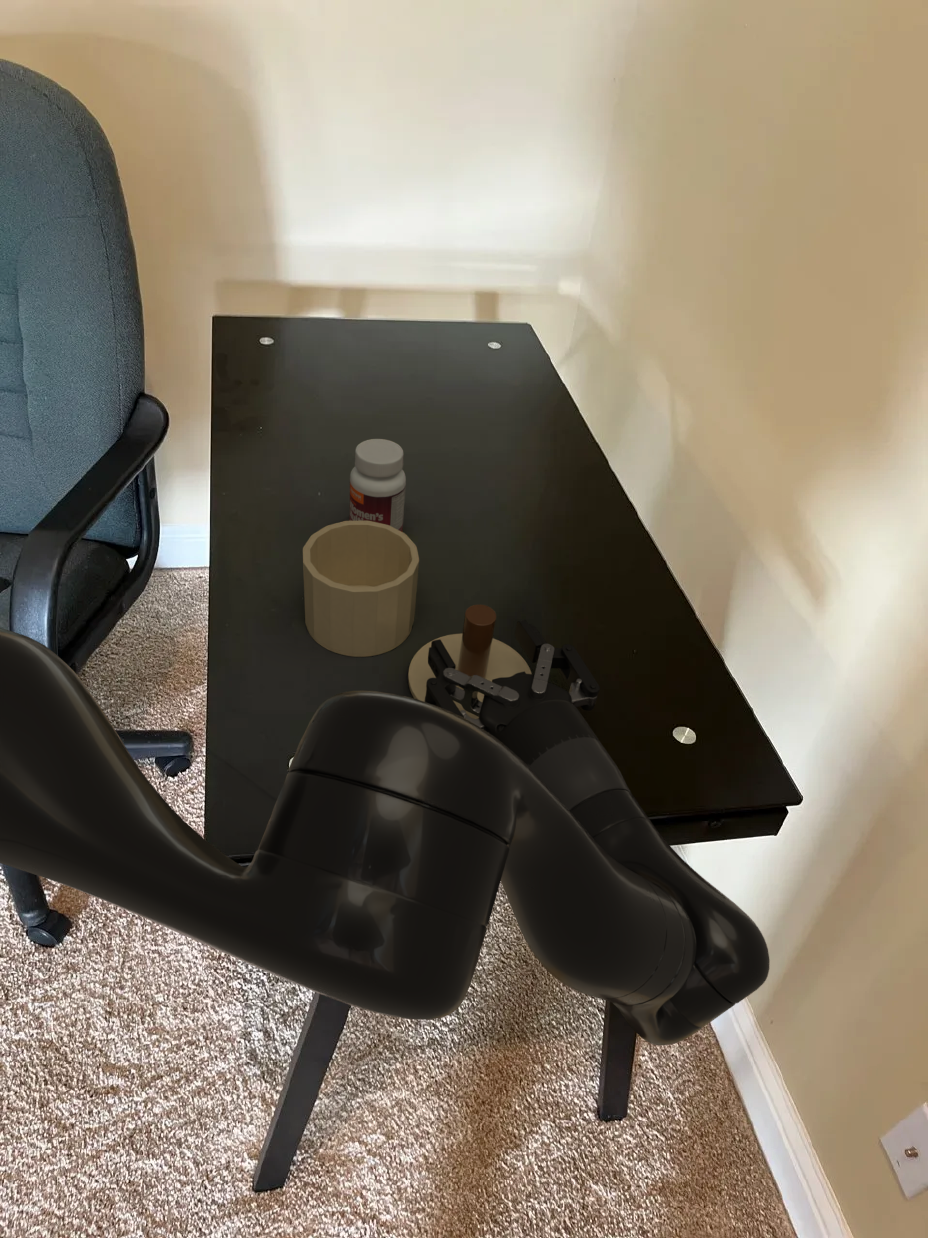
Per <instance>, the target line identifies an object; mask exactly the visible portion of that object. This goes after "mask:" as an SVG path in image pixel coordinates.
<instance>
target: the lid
mask: <svg viewBox="0 0 928 1238" xmlns="http://www.w3.org/2000/svg"><path fill="white" fill-rule="evenodd" d="M496 621H497V613H496V611H495V610H494V609H493V608H492V607H490V606H488V605H487V604H472V605H470V606H469V607H467V608H466V610H465V612H464V619H463V625H462V633H452V634H446V635H443V636H440V637H438V638H434V639H433V640H431V641H428V642H427V643H425V644H424V645H423V646H421V647H420V648H419V649H418V650H417V652H416V653H415V654H414V655H413V656H412V657H413V658H412V659H411V661H410V664H409V667H408V674H407V683H408V687H409V691H410V693H411V696H412V698H414V699H418V700H421V701H423V702H425V696H426V683H427V680H428V679H429V678H436V677H435V675H434V673H433V672H432V670H431V667H430V666H429V664H428V652H429V648H430V647H431V643H432V641H434V640H439V639H440V640H441V641H442V643H443V645H444V646H445V648H446V650H447V651H448V653H449V655H450V656H451V658H452V660H453V662H454V663H455V665H456V668H455V669H456V670H458V671H460V672H462V673H464V674H466V675H469V676H473V675H478V676H480V677H482V678H484V679H487V680H489V681H491V682H492V680H493V679H497V678H501V677H511V676H513V675H514V674H516V673H520V672H524V671H525V673H526V674H532V671H531V668H530V667H529V665H528V663H527V662H526V660H525V659H524V658H523V657H522V655H521V654H520V653H519V652H517V650H515V649H514V648H512V647H511V646H510V645H508V644H507V643H505V642H503V641H500V640H498V639H496V638H494V633H495V627H496ZM532 675H533V674H532ZM456 687H459V686H456ZM459 688H461V687H459ZM461 689H463V688H461ZM463 690H464V689H463ZM477 698H478V700H479V701H480V702H483V698H484V694H482V693H479V692H478V695H477ZM454 703H455V704H456V706H457V707H458V709H459V710H460V711H461V710H464V709H463V707H462V705H461V704H459V703H457V702H455V701H454ZM465 711H466V710H465ZM466 714H467V715H468V716H469V717H471V718H473V719H478V718H479V717H478V716H476V715H474V714H472V713H469V712H467V711H466Z"/></svg>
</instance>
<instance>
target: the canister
mask: <svg viewBox="0 0 928 1238" xmlns="http://www.w3.org/2000/svg"><path fill="white" fill-rule="evenodd" d="M302 568H303V571H302V572H303V592H304V593H303V594H304V595H303V597H304V598H303V599H304V618H305V619H304V621H305V626H306V630H307V632H308V633H309V636H310V637H311V638H312V639H313V641H314V642H315V643H317V644H318V645H319V646H321V647H322V648H324V649H326V650H328V651H329V652H332V653H335V654H338V655H341V656H345V657H354V658H365V657H366V658H367V657H372V656H379V655H382V654H385V653H388V652H391V651H393V650H394V649H396V648H398V647H399V646H400V645H401V644H403V643H404V642H405V641H406V640H407V639H408V637H409V636H410V634H411V632H412V630H413V626H414V622H415V619H416V617H415V616H416V604H417V593H418V581H419V568H420V556H419V551H418V547H417V545H416V544H415V542H414V541H412V540H411V538H410V536H408V534H406V533H405V532H403V531H402V532H401V531H399V530H397V529H395V528H393V527H392V526H390V525H386V524H382V523H377V522H373V521H368V520H364V521H349V520H344V521H340V522H336V523H331V524H329V525H326V526H324V527H322V528H320V529H319V530H317V531H316V532H314V533H312V534H311V535H310V537H309V538H308V539H307V541H306V542H305V544H304V546H303V547H302Z"/></svg>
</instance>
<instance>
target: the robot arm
mask: <svg viewBox="0 0 928 1238" xmlns="http://www.w3.org/2000/svg"><path fill="white" fill-rule="evenodd" d="M514 637H515V640H516V642H517V643H518V644H519V646H520V648H521V649H522V651H523V652H524V654H525V655H526V656H527V658H528V659H529V661H530V662H531V663H532V664H535V663H536V666H535V670H534V674H526V673H525V671H524V672H520V673H516V674H514V675H513V676H511V677H501V678H497V679H493V680H492V682H491V681H489V680H487V679H484V678H482V677H480V676H478V675H473V676H469V675H466V674H464V673H462V672H460V671H458V670H456V669H455V668H456V665H455V663H454V662H453V660H452V658H451V656H450V655H449V653H448V651H447V650H446V648H445V646H444V645H443V643H442V641H441V640H440V639H439V640H435V639H433V640H434V641H432V640H431V641H432V643H431V647H430V648H429V652H428V664H429V666H430V667H431V670H432V672H433V673H434V675H435V677H436V678H429V679H428V680H427V683H426V696H425V702H423V701H421V700H418V699H414V697H410V696H405V695H403V694H402V695H401V694H397V693H389V692H383V691H376V690H350V691H344V692H343V691H342V692H340V693H339V692H338V693H336V694H334V695H333V696H330V697H329V698H327V699H326V700H324V701H323V702H322V703H321V704H320V705H319V706H318V707H317V709H316V710H315V711H314V712H313V715H312V717H311V719H310V721H309V722H308V725H307V726H306V728H305V731H304V733H303V735H302V737H301V739H300V741H299V743H298V746H297V748H296V750H295V753H294V755H293V757H292V760H291V762H290V765H289V767H288V769H287V770H288V773H287V774H286V776H285V778H284V781H283V783H282V786H281V788H280V791H279V793H278V796H277V799H276V802H275V804H274V806H273V809H272V812H271V815H270V817H269V820H268V821H267V824H266V827H265V829H264V832H263V835H262V837H261V840H260V842H259V845H258V847H257V850H255V853H254V855H253V858H252V860H251V862H250V864H249V865H247V866H245V867H244V866H242V865H241V864H239V863H238V862H236V860H233V859H232V858H230V857H229V856H227V855H226V854H225V853H223V852H222V851H221V850H220V849H218V848H217V847H215V846H214V845H213V844H211V842H208V841H207V840H206V839H205V838H204V837H203V836H202V835H200V834H199V833H198V832H197V831H196V830H195V829H194V828H193V827H192V826H191V825H189V824H188V823H187V822H186V821H185V820H184V819H183V818H182V817H181V816H180V815H179V814H178V813H177V811H175V810H174V809H173V808H172V807H171V806H170V804H169V803H168V802H167V800H165V799H164V797H163V796H162V795H161V794H160V793H159V791H158V790H157V789H156V788H155V787H154V786H153V784H152V783H151V782H150V781H149V780H148V779H147V777H146V776H145V774H144V773H143V771H142V770H141V769H140V767H139V766H138V764H137V763H136V761H135V760H134V758H133V756H132V755H131V753H130V751H129V750H128V748H127V746H126V745H125V744H124V742H123V741H122V739H121V737H120V736H119V734H118V733H117V732H118V731H116V729H115V728H114V726H113V725H112V724H113V723H111V721H110V720H109V718H108V717H107V715H106V713H105V712H104V711H103V709H102V708H101V706H100V704H99V702H98V701H97V700H96V698H95V697H94V696H93V695H92V693H91V692H90V690H89V689H88V687H87V686H86V685H85V683H84V682H83V680H82V679H81V678H80V677H79V676H78V674H77V673H76V671H74V669H72V668H71V667H70V665H68V663H66V662H65V660H63V659H62V658H61V657H60V656H59V655H58V654H56V653H55V651H53V650H52V649H50V648H49V647H48V646H46V645H45V644H43V643H42V642H39V641H38V640H36V639H34V638H31V637H30V636H27V635H24V634H21V633H19V632H15V631H12V630H9V629H6V628H2V627H0V864H2V865H5V866H8V867H10V868H13V869H16V870H20V871H23V872H26V873H28V874H32V875H36V876H38V877H40V878H43V879H47V880H50V881H52V882H55V883H57V884H61V885H62V886H66V887H68V888H72V889H74V890H77V891H79V892H81V893H84V894H87V895H89V896H91V897H94V898H96V899H99V900H101V901H104V902H106V903H108V904H111V905H114V906H116V907H118V908H120V909H123V910H124V911H127V912H129V913H131V914H134V915H136V916H139V917H141V918H143V919H146V920H148V921H149V922H152V923H155V924H157V925H160V926H162V927H164V928H166V929H168V930H170V931H173V932H175V933H178V934H180V935H182V936H185V937H187V938H188V939H192V940H194V941H196V942H198V943H200V944H202V945H205V946H207V947H209V948H212V949H214V950H216V951H218V952H221V953H223V954H224V955H227V956H230V957H231V958H235V959H237V960H238V961H239V960H240V961H241V962H243V963H246V964H247V965H250V966H252V967H255V968H257V969H258V970H261V971H264V972H266V973H268V974H271V975H273V976H275V977H278V978H279V979H283V980H285V981H287V982H290V983H292V984H295V985H297V986H300V987H302V988H305V989H307V990H309V991H311V992H314V993H316V994H320V995H322V996H324V997H326V998H329V999H330V1000H334V1001H337V1002H339V1003H342V1004H345V1005H347V1006H352V1007H354V1008H357V1009H360V1010H364V1011H367V1012H371V1013H373V1014H374V1013H375V1014H378V1015H383V1016H387V1017H391V1018H398V1019H405V1020H415V1021H416V1020H417V1021H429V1020H430V1021H431V1020H437V1019H441V1018H445V1017H448V1016H449V1015H451V1014H453V1013H454V1012H455V1011H457V1010H458V1009H459V1008H460V1007H461V1005H462V1004H463V1002H464V1001H465V1000H466V999H465V998H466V996H467V994H468V991H469V989H470V986H471V984H472V981H473V978H474V975H475V973H476V969H477V965H478V962H479V958H480V955H481V951H482V946H483V944H484V940H485V938H486V934H487V932H488V928H487V927H488V926H489V923H490V919H491V917H492V912H493V909H494V905H495V902H496V899H497V895H498V893H499V889H500V885H502V889H503V891H504V893H505V895H506V897H507V901H508V904H509V906H510V908H511V911H512V913H513V915H514V918H515V921H516V923H517V925H518V929H519V931H520V932H521V935H522V936H523V938H524V940H525V942H526V944H527V945H528V947H529V950H530V951H531V952H532V953H533V955H534V957H535V958H536V959H537V960H538V962H539V963H540V964H541V965H542V966H543V968H544V969H545V970H546V972H548V973H549V974H550V975H552V977H554V978H555V979H556V980H557V981H559V982H560V983H562V985H564V986H566V987H568V988H569V989H572V990H574V991H576V992H577V993H580V994H582V995H585V996H590V997H592V998H596V999H599V1000H601V1001H605V1002H609V1003H612V1005H614V1006H615V1007H616V1009H618V1012H620V1015H621V1016H622V1017H623V1018H624V1020H625V1022H626V1023H627V1024H628V1025H629V1027H630V1028H631V1029H632V1030H633V1031H634V1032H635V1033H636V1035H638V1036H639V1037H640V1038H641V1039H642V1040H644V1041H645V1042H648V1043H649V1044H651V1045H654V1046H661V1047H662V1046H663V1047H664V1046H670V1045H675V1044H678V1043H680V1042H683V1041H685V1040H686V1039H688V1038H690V1037H691V1036H693V1035H694V1034H696V1033H698V1032H699V1031H700V1030H702V1029H703V1028H705V1027H706V1026H707V1025H709V1024H710V1023H712V1022H713V1021H714V1020H715V1019H717V1018H718V1017H720V1016H721V1015H723V1014H724V1013H726V1012H727V1011H729V1010H730V1009H731V1008H733V1007H734V1006H735V1005H736V1004H740V1002H742V1001H743V1000H745V999H746V998H748V997H749V996H750V995H752V994H753V993H755V992H756V991H757V990H759V989H760V988H761V987H762V986H763V985H764V984H765V982H766V981H767V978H768V977H769V972H770V966H771V965H770V961H771V960H770V952H769V948H768V945H767V942H766V939H765V936H764V935H763V933H762V931H761V930H760V927H759V926H758V925H757V924H756V922H755V921H754V920H753V919H752V918H751V917H750V916H749V915H748V914H747V913H746V912H745V911H744V910H743V909H742V908H741V907H740V906H738V904H737V903H735V902H734V901H733V900H731V899H730V898H729V897H728V896H726V894H724V893H723V892H722V891H720V890H719V889H718V888H716V887H715V886H714V885H713V884H712V883H710V882H709V881H708V880H707V879H705V878H704V877H703V876H702V875H701V874H699V873H698V872H697V871H696V870H695V869H693V868H692V866H690V865H689V864H688V863H687V862H686V861H685V860H684V859H683V858H682V857H681V856H680V855H679V854H678V853H677V852H676V850H675V849H674V848H673V847H672V846H671V845H670V844H669V843H668V842H667V841H666V839H665V838H664V837H663V836H662V835H661V833H660V832H659V831H658V829H657V828H656V826H655V825H654V823H653V822H652V821H651V819H650V818H649V816H648V814H647V813H646V812H645V810H644V809H643V807H642V805H640V803H639V802H638V800H637V798H635V796H634V794H633V793H632V791H631V790H630V788H629V786H628V785H627V783H626V780H625V778H624V776H623V775H622V772H621V770H620V769H619V767H618V766H617V764H616V762H615V761H614V760H613V758H612V757H611V754H609V752H608V751H607V749H606V748H605V747H604V745H603V744H602V742H601V741H600V740H599V738H598V736H597V735H596V733H595V732H594V731H593V729H592V727H591V726H590V725H589V723H588V722H587V720H586V719H585V718H584V716H583V715H582V713H581V712H580V710H579V709H578V708H579V707H580V708H581V709H582V710H584V711H586V712H591V711H593V710H594V709H595V706H596V703H597V699H598V695H599V693H600V689H601V687H600V686H601V685H599V683H598V682H597V680H596V678H595V677H594V675H593V674H592V672H591V671H590V669H589V667H588V666H587V664H586V663H585V661H584V660H583V658H582V657H581V655H580V654H579V652H578V650H577V648H575V646H574V645H572V644H569V643H565V644H563V645H562V646H561V647H555V646H553V645H552V644H550V643H548V642H547V641H546V639H545V638H544V636H543V635H542V633H540V631H539V629H538V628H537V627H536V626H535V625H534V624H533V623H529V622H528V621H527V620H526V619H522V620H518V621H517V622H516V625H515V629H514ZM551 669H557V670H558V671H559V673H560V675H561V676H562V678H563V681H564V682H565V683H566V685H567V686H568V688H569V690H568V691H567V689H564V688H563V687H561V686H558V685H556V684H554V683H553V682H551V681H549V677H550V673H551ZM456 686H459V687H461V688H463V689H464V690H463V689H461V688H459V687H456ZM478 692H479V693H482V694H484V698H483V702H480V701H479V700H478V698H477V695H478ZM454 701H455V702H457V703H459V704H461V705H462V707H463V709H464V710H461V711H460V710H459V709H458V707H457V706H456V704H455V703H454ZM465 710H466V711H467V712H469V713H472V714H474V715H476V716H478V717H479V718H478V719H473V718H471V717H469V716H468V715H467V714H466V711H465Z"/></svg>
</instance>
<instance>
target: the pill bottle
mask: <svg viewBox="0 0 928 1238" xmlns="http://www.w3.org/2000/svg"><path fill="white" fill-rule="evenodd" d="M354 454H355V455H354V467H352V469H351V471H350V474H349V505H348V506H349V507H348V509H349V510H348V511H349V512H348V514H349V515H348V521H364V520H368V521H373V522H377V523H382V524H386V525H390V526H392V527H393V528H395V529H397V530H399V531H401V532H403V529H404V528H403V527H404V516H405V515H404V514H405V501H406V485H407V477H406V473H405V471H404V470H403V469H404V450H403V448H402V446H400V444H398V443H397V442H395V441H392V440H389V439H384V438H371V439H366V440H363V441H361V442H360V443H359V444H357V445H356V447H355V452H354Z"/></svg>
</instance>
